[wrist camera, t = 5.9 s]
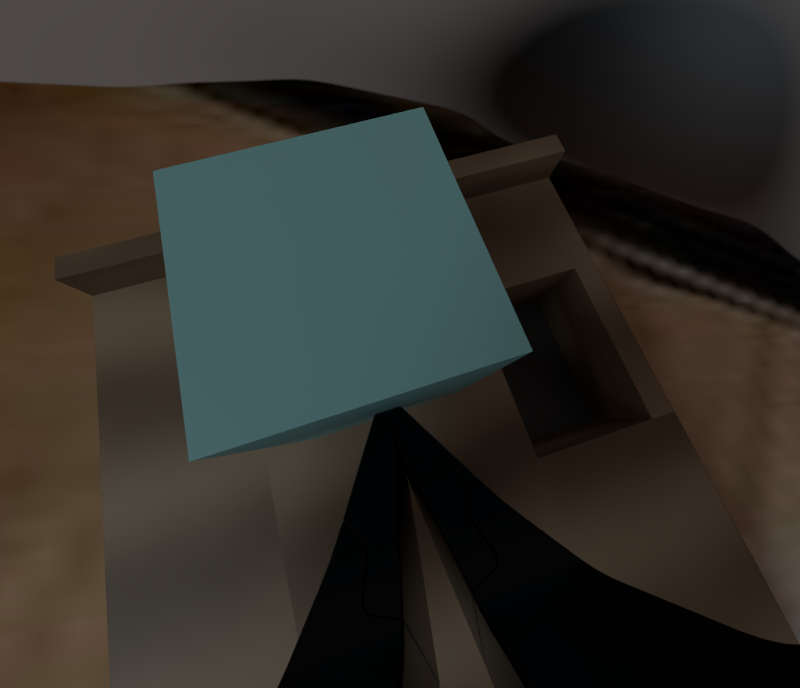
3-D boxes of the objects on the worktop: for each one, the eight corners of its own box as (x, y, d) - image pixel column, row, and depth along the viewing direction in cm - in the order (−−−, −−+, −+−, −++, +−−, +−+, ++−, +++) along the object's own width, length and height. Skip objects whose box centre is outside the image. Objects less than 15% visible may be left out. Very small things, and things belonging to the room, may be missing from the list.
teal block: (456, 392, 12) (533, 350, 5) (312, 439, 11) (189, 461, 5) (410, 266, 13) (422, 106, 7) (281, 303, 13) (152, 170, 6)
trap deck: (749, 714, 13) (1008, 928, 7) (230, 949, 11) (64, 1472, 5) (511, 215, 19) (555, 134, 14) (161, 309, 17) (54, 257, 12)
